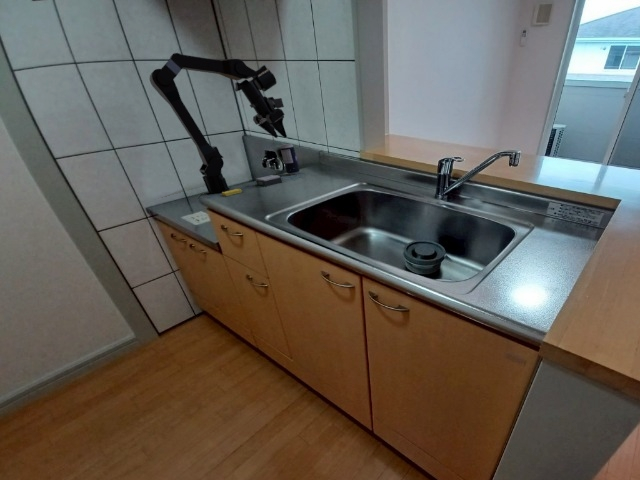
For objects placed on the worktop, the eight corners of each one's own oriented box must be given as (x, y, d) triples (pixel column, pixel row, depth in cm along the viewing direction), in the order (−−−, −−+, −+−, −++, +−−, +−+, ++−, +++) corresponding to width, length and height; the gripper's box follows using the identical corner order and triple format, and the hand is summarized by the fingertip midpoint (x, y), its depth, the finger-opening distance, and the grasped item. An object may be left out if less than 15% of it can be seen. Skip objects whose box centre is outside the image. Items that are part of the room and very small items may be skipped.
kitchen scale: (265, 186, 125) (263, 180, 124) (257, 185, 129) (255, 178, 128) (282, 182, 129) (280, 175, 128) (273, 180, 134) (271, 174, 132)
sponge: (226, 196, 116) (225, 193, 116) (222, 195, 118) (221, 192, 118) (242, 192, 120) (241, 189, 119) (238, 191, 122) (237, 188, 121)
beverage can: (301, 173, 144) (294, 143, 137) (289, 175, 141) (281, 145, 135) (298, 171, 148) (290, 143, 141) (285, 174, 145) (278, 145, 139)
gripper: (281, 84, 119) (305, 126, 130) (262, 89, 132) (286, 127, 142) (258, 100, 116) (285, 141, 127) (241, 104, 129) (267, 141, 139)
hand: (281, 137), depth 134 cm, fingers open, 9 cm apart
